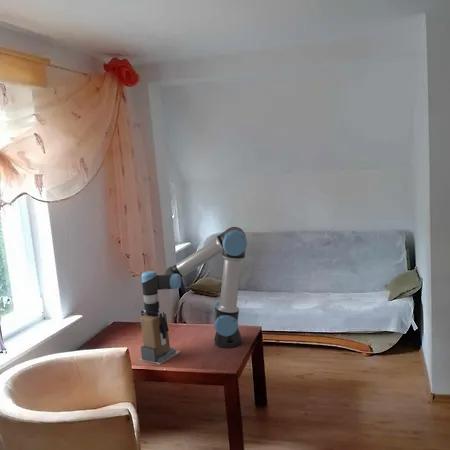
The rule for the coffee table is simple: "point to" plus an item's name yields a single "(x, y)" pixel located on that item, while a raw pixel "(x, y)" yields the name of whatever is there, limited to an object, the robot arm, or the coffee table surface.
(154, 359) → the grey l-shaped piece
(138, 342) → the coffee table surface
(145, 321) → the block
